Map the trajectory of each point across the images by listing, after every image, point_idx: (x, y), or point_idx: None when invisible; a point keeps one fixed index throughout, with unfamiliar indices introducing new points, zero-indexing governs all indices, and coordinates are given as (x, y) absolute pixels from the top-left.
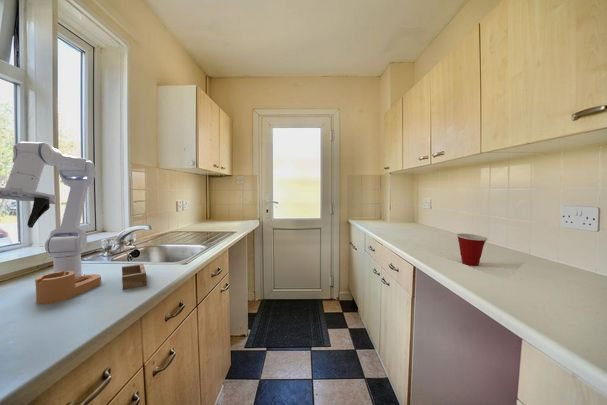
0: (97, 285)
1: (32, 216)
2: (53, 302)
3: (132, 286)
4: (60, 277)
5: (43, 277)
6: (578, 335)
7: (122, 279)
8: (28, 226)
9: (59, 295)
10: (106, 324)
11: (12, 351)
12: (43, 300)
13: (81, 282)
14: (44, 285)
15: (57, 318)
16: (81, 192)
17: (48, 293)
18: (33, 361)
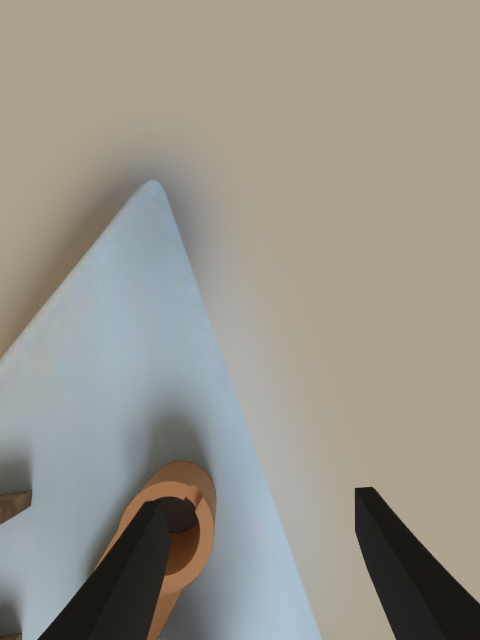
0: None
1: (114, 557)
2: (177, 461)
3: (3, 495)
4: (146, 491)
5: (199, 541)
6: None
7: (7, 502)
8: (166, 526)
9: (163, 469)
10: (72, 283)
11: (181, 258)
12: (195, 467)
13: None
14: (186, 477)
15: (150, 354)
16: None
17: (182, 469)
18: (149, 219)
